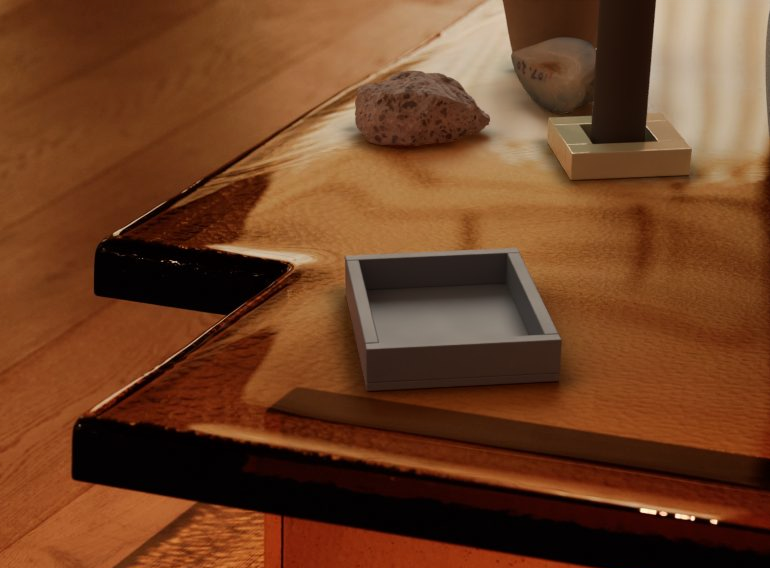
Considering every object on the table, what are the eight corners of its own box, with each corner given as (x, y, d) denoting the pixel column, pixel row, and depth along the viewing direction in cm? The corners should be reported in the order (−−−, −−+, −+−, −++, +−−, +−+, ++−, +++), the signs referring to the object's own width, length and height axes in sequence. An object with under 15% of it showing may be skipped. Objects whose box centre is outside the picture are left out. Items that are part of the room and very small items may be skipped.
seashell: (527, 47, 137) (499, 5, 127) (628, 72, 134) (608, 30, 124) (503, 118, 137) (473, 81, 127) (603, 144, 134) (581, 108, 125)
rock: (369, 110, 131) (369, 60, 129) (499, 120, 128) (500, 69, 126) (338, 144, 124) (336, 91, 122) (474, 154, 121) (475, 101, 119)
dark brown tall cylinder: (649, 166, 118) (666, -45, 111) (595, 168, 118) (609, -43, 110) (636, 149, 122) (652, -57, 114) (584, 151, 122) (596, -55, 114)
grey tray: (559, 381, 88) (562, 339, 86) (366, 391, 87) (365, 349, 86) (516, 285, 99) (517, 247, 98) (345, 293, 98) (344, 255, 97)
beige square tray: (689, 175, 117) (692, 148, 116) (570, 180, 116) (571, 153, 115) (659, 138, 124) (661, 112, 123) (546, 142, 123) (548, 117, 122)
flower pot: (499, 48, 147) (503, -66, 142) (623, 55, 145) (632, -61, 140) (475, 82, 138) (478, -39, 133) (607, 90, 135) (616, -33, 130)
